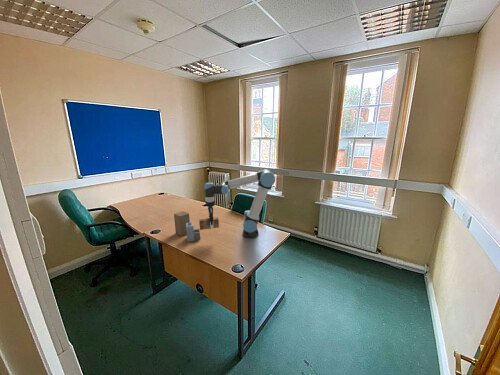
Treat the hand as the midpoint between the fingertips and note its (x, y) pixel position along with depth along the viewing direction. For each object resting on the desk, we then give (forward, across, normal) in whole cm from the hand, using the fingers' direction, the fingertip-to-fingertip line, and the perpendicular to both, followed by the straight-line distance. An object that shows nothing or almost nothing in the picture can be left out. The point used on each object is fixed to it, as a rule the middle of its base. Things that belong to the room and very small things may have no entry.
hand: (211, 226), depth 179 cm
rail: (+1, 0, -2) cm, 2 cm away
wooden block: (+13, -23, -26) cm, 37 cm away
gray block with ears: (+13, -9, -16) cm, 22 cm away
